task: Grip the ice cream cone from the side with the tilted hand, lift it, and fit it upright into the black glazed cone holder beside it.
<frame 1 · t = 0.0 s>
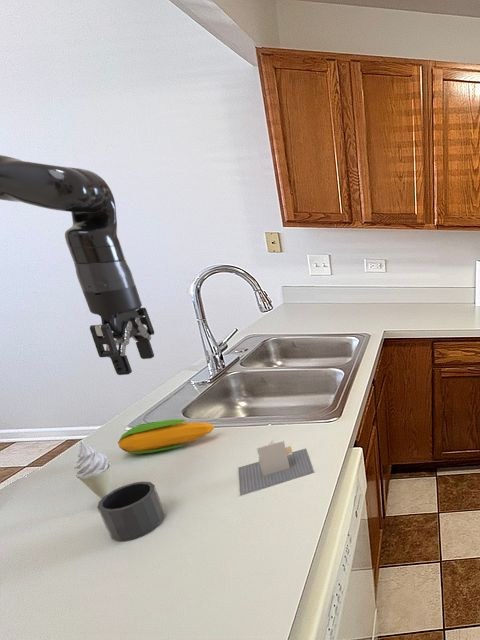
hand: (137, 365, 80), 27 cm above the table, tool pointing down, fingers open, 8 cm apart
corn: (173, 446, 102), on the table
cone holder: (138, 524, 77), on the table
architectural model: (276, 470, 92), on the table
ice cream cone: (107, 503, 82), on the table
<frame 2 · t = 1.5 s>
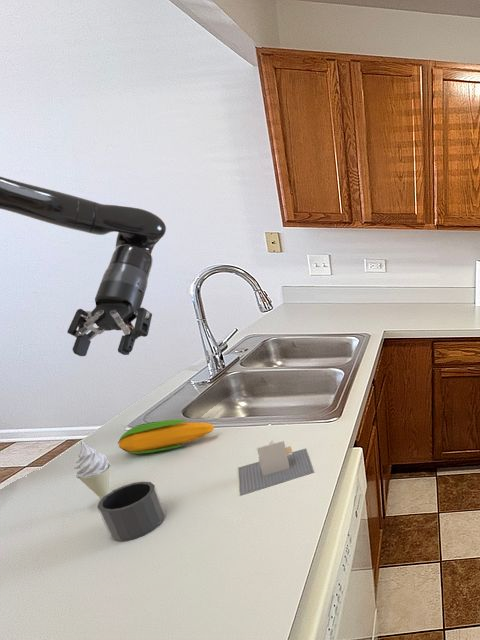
hand: (101, 354, 83), 29 cm above the table, tool tilted 45°, fingers open, 8 cm apart
nothing on the table moved.
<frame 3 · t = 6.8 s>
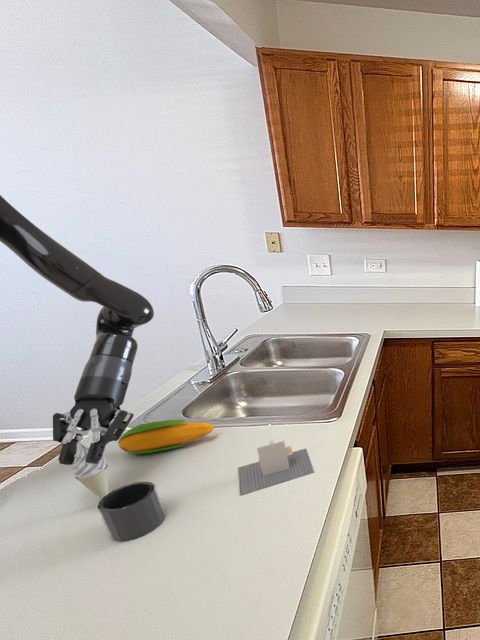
hand: (78, 463, 77), 11 cm above the table, tool tilted 45°, fingers closed on ice cream cone, 4 cm apart
ice cream cone: (107, 503, 82), on the table, touching gripper
everything else where it was.
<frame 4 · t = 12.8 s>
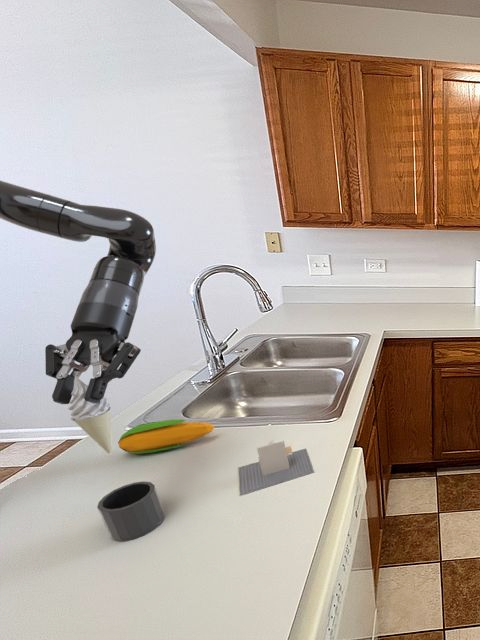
hand: (76, 401, 65), 28 cm above the table, tool tilted 45°, fingers closed on ice cream cone, 4 cm apart
ice cream cone: (110, 453, 70), point 17 cm above the table, touching gripper
everything else where it was.
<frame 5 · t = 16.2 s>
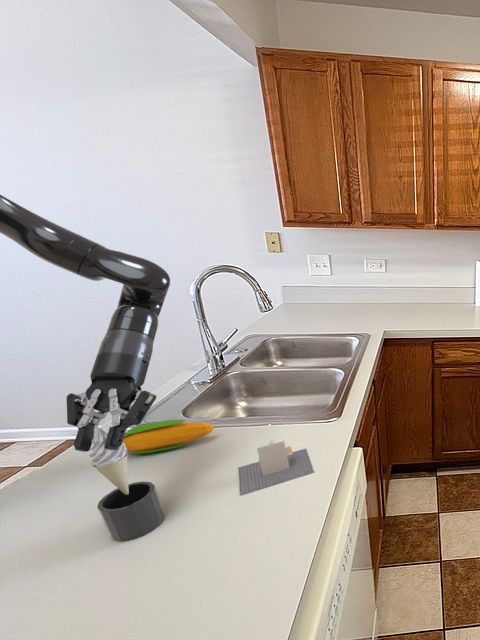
hand: (96, 449, 68), 19 cm above the table, tool tilted 45°, fingers closed on ice cream cone, 4 cm apart
ice cream cone: (127, 494, 74), point 7 cm above the table, touching gripper
everything else where it was.
when the fingers open (12 cm above the table, at t = 19.0 s): ice cream cone stays where it is, resting on cone holder.
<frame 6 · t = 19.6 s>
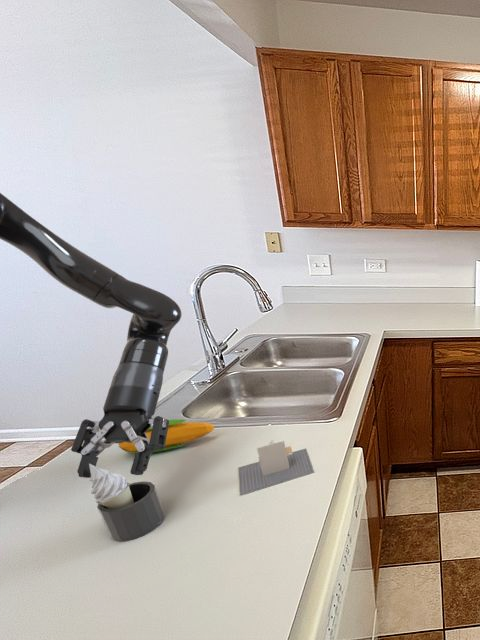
hand: (111, 475, 71), 13 cm above the table, tool tilted 45°, fingers open, 8 cm apart
ice cream cone: (139, 523, 76), resting on cone holder
everything else where it was.
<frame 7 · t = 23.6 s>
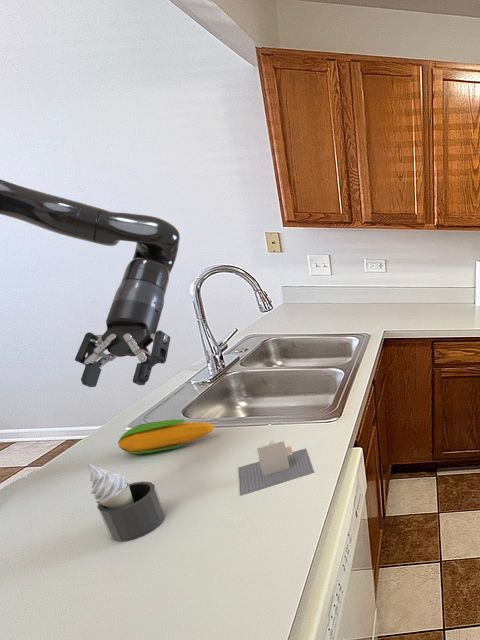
hand: (113, 384, 72), 27 cm above the table, tool tilted 45°, fingers open, 8 cm apart
nothing on the table moved.
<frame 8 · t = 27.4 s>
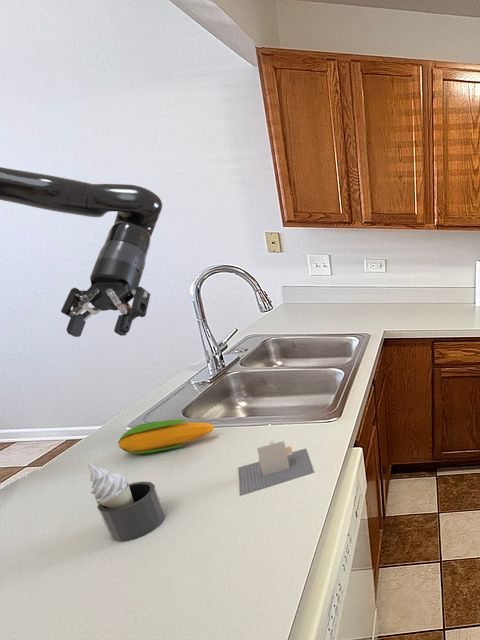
hand: (96, 334, 79), 34 cm above the table, tool tilted 45°, fingers open, 8 cm apart
nothing on the table moved.
at the end: ice cream cone 0.3 cm off-centre in the cone holder, point 0.4 cm above the cone holder's base; ice cream cone tilted 14°; the gripper is holding nothing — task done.
